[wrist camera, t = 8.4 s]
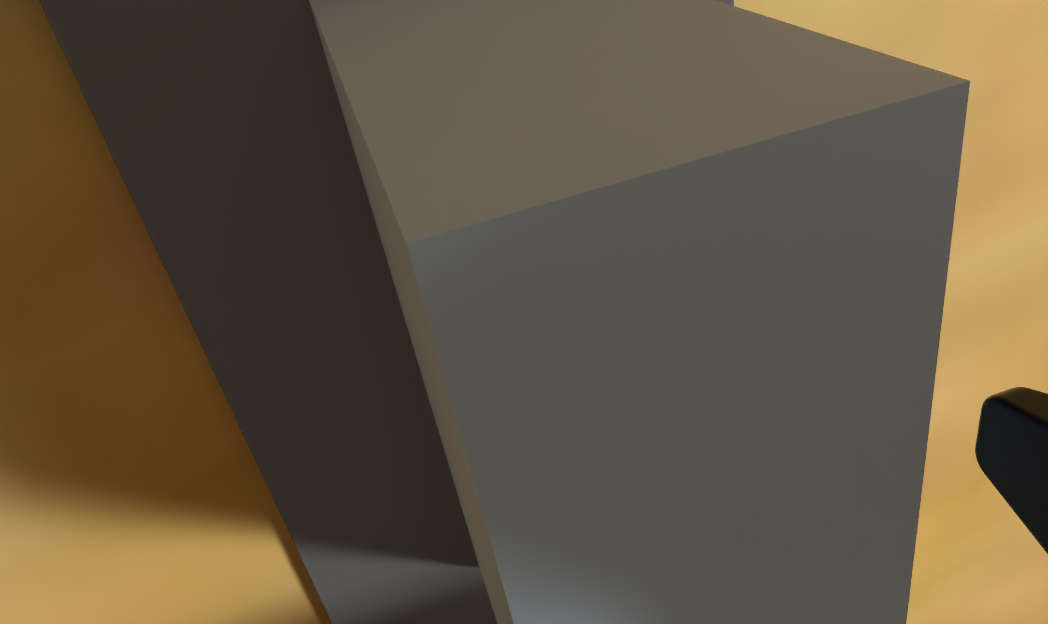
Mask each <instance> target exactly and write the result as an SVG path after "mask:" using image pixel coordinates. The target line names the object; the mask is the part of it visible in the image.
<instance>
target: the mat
mask: <svg viewBox="0 0 1048 624" xmlns="http://www.w3.org/2000/svg"><path fill="white" fill-rule="evenodd" d="M39 1H40V3H41V5H42V7H43V9H44V12H45V14H46V16H47V18H48V20H49V22H50V24H51V27H52V29H53V31H54V33H55V35H56V37H57V39H58V41H59V44H60V46H61V48H62V50H63V52H64V54H65V56H66V58H67V61H68V63H69V65H70V67H71V69H72V71H73V73H74V75H75V78H76V80H77V82H78V84H79V86H80V88H81V90H82V92H83V95H84V97H85V99H86V101H87V103H88V105H89V107H90V109H91V112H92V114H93V116H94V118H95V120H96V122H97V124H98V126H99V129H100V131H101V133H102V135H103V137H104V139H105V141H106V144H107V146H108V148H109V150H110V152H111V154H112V156H113V158H114V161H115V163H116V165H117V167H118V169H119V171H120V173H121V175H122V178H123V180H124V182H125V184H126V186H127V188H128V190H129V192H130V195H131V197H132V199H133V201H134V203H135V205H136V207H137V209H138V212H139V214H140V216H141V218H142V220H143V222H144V224H145V226H146V229H147V231H148V233H149V235H150V237H151V239H152V241H153V243H154V246H155V248H156V250H157V252H158V254H159V256H160V258H161V260H162V263H163V265H164V267H165V269H166V271H167V273H168V275H169V278H170V280H171V282H172V284H173V286H174V288H175V290H176V292H177V295H178V297H179V299H180V301H181V303H182V305H183V307H184V309H185V312H186V314H187V316H188V318H189V320H190V322H191V324H192V326H193V329H194V331H195V333H196V335H197V337H198V339H199V341H200V343H201V346H202V348H203V350H204V352H205V354H206V356H207V358H208V360H209V363H210V365H211V367H212V369H213V371H214V373H215V375H216V377H217V380H218V382H219V384H220V386H221V388H222V390H223V392H224V394H225V397H226V399H227V401H228V403H229V405H230V407H231V409H232V412H233V414H234V416H235V418H236V420H237V422H238V424H239V426H240V429H241V431H242V433H243V435H244V437H245V439H246V441H247V443H248V446H249V448H250V450H251V452H252V454H253V456H254V458H255V460H256V463H257V465H258V467H259V469H260V471H261V473H262V475H263V477H264V480H265V482H266V484H267V486H268V488H269V490H270V492H271V494H272V497H273V499H274V501H275V503H276V505H277V507H278V509H279V511H280V514H281V516H282V518H283V520H284V522H285V524H286V526H287V528H288V531H289V533H290V535H291V537H292V539H293V541H294V543H295V546H296V548H297V550H298V552H299V554H300V556H301V558H302V560H303V563H304V565H305V567H306V569H307V571H308V573H309V575H310V577H311V580H312V582H313V584H314V586H315V588H316V590H317V592H318V594H319V597H320V599H321V601H322V603H323V605H324V607H325V609H326V611H327V614H328V616H329V618H330V620H331V622H332V624H497V621H496V618H495V615H494V611H493V608H492V605H491V602H490V599H489V596H488V593H487V590H486V586H485V583H484V580H483V577H482V574H481V571H480V568H479V564H478V561H477V558H476V554H475V551H474V548H473V544H472V541H471V538H470V534H469V531H468V528H467V524H466V521H465V518H464V514H463V511H462V508H461V504H460V501H459V498H458V494H457V491H456V488H455V484H454V481H453V478H452V475H451V471H450V468H449V465H448V461H447V458H446V455H445V451H444V448H443V445H442V441H441V438H440V435H439V431H438V428H437V425H436V421H435V418H434V415H433V411H432V408H431V405H430V401H429V398H428V395H427V391H426V388H425V385H424V381H423V378H422V375H421V371H420V368H419V365H418V361H417V358H416V355H415V352H414V348H413V345H412V342H411V338H410V335H409V332H408V328H407V325H406V322H405V318H404V315H403V312H402V308H401V305H400V302H399V298H398V295H397V292H396V288H395V285H394V282H393V278H392V275H391V272H390V268H389V265H388V262H387V258H386V255H385V252H384V248H383V245H382V242H381V238H380V235H379V232H378V228H377V225H376V222H375V219H374V215H373V212H372V209H371V205H370V202H369V199H368V195H367V192H366V189H365V185H364V182H363V179H362V175H361V172H360V169H359V165H358V162H357V159H356V155H355V152H354V149H353V145H352V142H351V139H350V135H349V132H348V129H347V125H346V122H345V119H344V115H343V112H342V109H341V105H340V102H339V99H338V95H337V92H336V89H335V86H334V82H333V79H332V76H331V72H330V69H329V66H328V62H327V59H326V56H325V52H324V49H323V46H322V42H321V39H320V36H319V32H318V29H317V26H316V22H315V19H314V16H313V12H312V9H311V6H310V2H309V0H39ZM716 1H719V2H722V3H725V4H728V5H732V6H734V0H716Z"/></svg>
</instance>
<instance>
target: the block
mask: <svg viewBox="0 0 1048 624" xmlns="http://www.w3.org/2000/svg"><path fill="white" fill-rule="evenodd" d="M309 2H310V6H311V9H312V12H313V16H314V19H315V22H316V26H317V29H318V32H319V36H320V39H321V42H322V46H323V49H324V52H325V56H326V59H327V62H328V66H329V69H330V72H331V76H332V79H333V82H334V86H335V89H336V92H337V95H338V99H339V102H340V105H341V109H342V112H343V115H344V119H345V122H346V125H347V129H348V132H349V135H350V139H351V142H352V145H353V149H354V152H355V155H356V159H357V162H358V165H359V169H360V172H361V175H362V179H363V182H364V185H365V189H366V192H367V195H368V199H369V202H370V205H371V209H372V212H373V215H374V219H375V222H376V225H377V228H378V232H379V235H380V238H381V242H382V245H383V248H384V252H385V255H386V258H387V262H388V265H389V268H390V272H391V275H392V278H393V282H394V285H395V288H396V292H397V295H398V298H399V302H400V305H401V308H402V312H403V315H404V318H405V322H406V325H407V328H408V332H409V335H410V338H411V342H412V345H413V348H414V352H415V355H416V358H417V361H418V365H419V368H420V371H421V375H422V378H423V381H424V385H425V388H426V391H427V395H428V398H429V401H430V405H431V408H432V411H433V415H434V418H435V421H436V425H437V428H438V431H439V435H440V438H441V441H442V445H443V448H444V451H445V455H446V458H447V461H448V465H449V468H450V471H451V475H452V478H453V481H454V484H455V488H456V491H457V494H458V498H459V501H460V504H461V508H462V511H463V514H464V518H465V521H466V524H467V528H468V531H469V534H470V538H471V541H472V544H473V548H474V551H475V554H476V558H477V561H478V564H479V568H480V571H481V574H482V577H483V580H484V583H485V586H486V590H487V593H488V596H489V599H490V602H491V605H492V608H493V611H494V615H495V618H496V621H497V624H906V619H907V611H908V602H909V594H910V585H911V577H912V568H913V560H914V552H915V543H916V535H917V526H918V518H919V509H920V501H921V492H922V484H923V475H924V467H925V458H926V450H927V441H928V433H929V424H930V416H931V407H932V399H933V390H934V382H935V373H936V365H937V356H938V348H939V339H940V331H941V322H942V314H943V305H944V297H945V288H946V280H947V271H948V263H949V255H950V246H951V238H952V229H953V221H954V212H955V204H956V195H957V187H958V178H959V170H960V161H961V153H962V144H963V136H964V127H965V119H966V110H967V102H968V93H969V85H970V81H968V80H965V79H962V78H959V77H956V76H952V75H949V74H946V73H943V72H940V71H937V70H934V69H930V68H927V67H924V66H921V65H918V64H915V63H911V62H908V61H905V60H902V59H899V58H896V57H893V56H889V55H886V54H883V53H880V52H877V51H874V50H870V49H867V48H864V47H861V46H858V45H855V44H851V43H848V42H845V41H842V40H839V39H836V38H833V37H829V36H826V35H823V34H820V33H817V32H814V31H810V30H807V29H804V28H801V27H798V26H795V25H792V24H788V23H785V22H782V21H779V20H776V19H773V18H769V17H766V16H763V15H760V14H757V13H754V12H751V11H747V10H744V9H741V8H738V7H735V6H732V5H728V4H725V3H722V2H719V1H716V0H309Z"/></svg>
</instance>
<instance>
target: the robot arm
mask: <svg viewBox="0 0 1048 624" xmlns="http://www.w3.org/2000/svg"><path fill="white" fill-rule="evenodd" d="M975 453H976V458H977V461H978V463H979V465H980V467H981V469H982V471H983V472H984V474H985V475H986V476H987V477H988V479H989V480H990V481H991V482H992V484H993V485H994V486H995V488H996V489H997V490H998V491H999V493H1000V494H1001V495H1002V496H1003V498H1004V499H1005V500H1006V502H1007V503H1008V504H1009V505H1010V507H1011V508H1012V509H1013V510H1014V512H1015V513H1016V514H1017V516H1018V517H1019V518H1020V519H1021V521H1022V522H1023V523H1024V524H1025V526H1026V527H1027V528H1028V530H1029V531H1030V532H1031V533H1032V535H1033V536H1034V537H1035V538H1036V540H1037V541H1038V542H1039V544H1040V545H1041V546H1042V547H1043V549H1044V550H1045V551H1046V552H1047V554H1048V394H1047V393H1043V392H1040V391H1036V390H1033V389H1029V388H1025V387H1016V388H1012V389H1009V390H1006V391H1003V392H1000V393H998V394H995V395H992V396H990V397H988V398H987V399H986V400H985V401H984V403H983V405H982V409H981V415H980V421H979V428H978V434H977V440H976V446H975Z"/></svg>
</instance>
